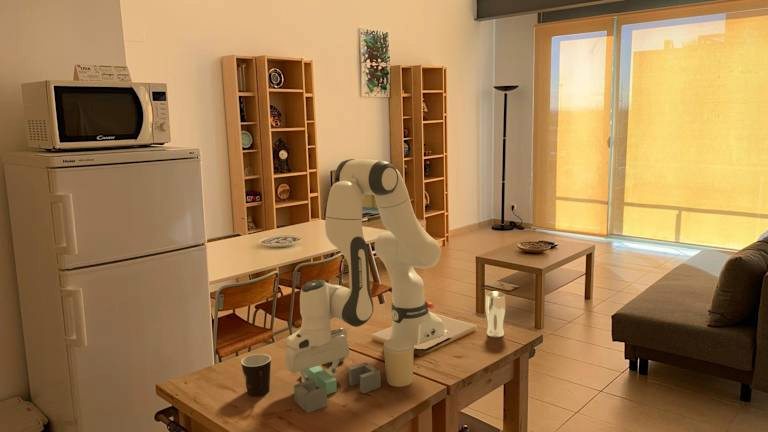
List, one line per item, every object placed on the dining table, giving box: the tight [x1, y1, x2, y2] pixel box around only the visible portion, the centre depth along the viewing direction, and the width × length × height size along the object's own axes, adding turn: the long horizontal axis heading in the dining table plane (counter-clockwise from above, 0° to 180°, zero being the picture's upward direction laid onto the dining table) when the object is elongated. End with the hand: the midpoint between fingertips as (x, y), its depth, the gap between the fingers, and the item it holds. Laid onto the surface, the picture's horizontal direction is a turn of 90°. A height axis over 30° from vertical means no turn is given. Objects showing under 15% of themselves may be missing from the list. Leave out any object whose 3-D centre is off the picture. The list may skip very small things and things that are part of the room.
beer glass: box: [485, 291, 506, 338], centre depth 209 cm, size 7×7×15 cm
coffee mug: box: [240, 353, 272, 398], centre depth 172 cm, size 12×9×10 cm
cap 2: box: [347, 361, 382, 394], centre depth 175 cm, size 6×8×5 cm
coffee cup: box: [382, 338, 415, 387], centre depth 177 cm, size 9×9×12 cm
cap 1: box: [293, 379, 328, 414], centre depth 166 cm, size 6×8×5 cm
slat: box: [303, 365, 338, 395], centre depth 178 cm, size 16×3×4 cm, turn 32°
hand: (319, 377), depth 178 cm, fingers open, 8 cm apart
